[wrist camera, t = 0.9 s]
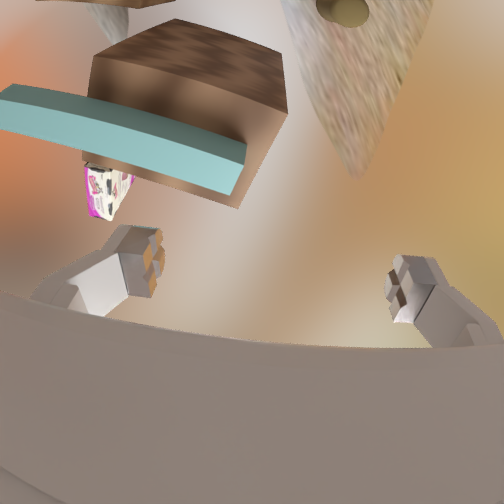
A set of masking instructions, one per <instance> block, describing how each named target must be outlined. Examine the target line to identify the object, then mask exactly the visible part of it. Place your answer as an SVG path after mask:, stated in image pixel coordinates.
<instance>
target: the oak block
mask: <svg viewBox="0 0 504 504" xmlns="http://www.w3.org/2000/svg"><path fill="white" fill-rule="evenodd" d="M36 1H75V2H88V3H99V4H108V5H116V6H123V7H131V8H136V9H140V8H144V7H149V6H153V5H158V4H162V3H167V2H172V1H175V0H36Z"/></svg>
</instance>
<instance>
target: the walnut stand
mask: <svg viewBox="0 0 504 504" xmlns="http://www.w3.org/2000/svg"><path fill="white" fill-rule="evenodd" d="M87 97H89V98H94V99H98V100H102V101H106V102H111V103H115V104H119V105H123V106H126V107H130V108H134V109H138V110H141V111H145V112H149V113H152V114H156V115H159V116H162V117H166V118H169V119H172V120H176V121H179V122H182V123H185V124H189V125H192V126H195V127H198V128H201V129H204V130H207V131H210V132H213V133H216V134H219V135H222V136H224V137H227V138H230V139H233V140H236V141H238V142H241V143H244V144H247V150H246V157H245V163H244V167H243V169H242V171H241V173H240V175H239V177H238V179H237V181H236V183H235V186H234V188H233V190H232V192H231V194H230V196H229V195H226V194H223V193H220V192H217V191H214V190H211V189H208V188H205V187H202V186H199V185H196V184H193V183H190V182H187V181H184V180H181V179H178V178H175V177H171V176H168V175H165V174H162V173H159V172H155V171H152V170H149V169H146V168H142V167H139V166H136V165H133V164H129V163H126V162H122V161H119V160H116V159H112V158H109V157H105V156H102V155H98V154H95V153H91V152H88V151H84V150H82V160H83V161H86V162H90V163H93V164H97V165H100V166H104V167H107V168H110V169H114V170H117V171H120V172H124V173H127V174H130V175H134V176H137V177H140V178H143V179H147V180H150V181H153V182H156V183H160V184H163V185H166V186H169V187H172V188H175V189H179V190H182V191H185V192H188V193H191V194H194V195H197V196H200V197H203V198H206V199H209V200H212V201H215V202H218V203H222V204H225V205H227V206H230V207H233V208H236V209H238V208H239V206H240V204H241V202H242V200H243V198H244V196H245V194H246V192H247V190H248V188H249V187H250V185H251V183H252V181H253V179H254V177H255V175H256V173H257V171H258V169H259V167H260V166H261V164H262V162H263V160H264V158H265V156H266V154H267V152H268V150H269V149H270V147H271V145H272V143H273V141H274V139H275V137H276V136H277V134H278V132H279V130H280V128H281V126H282V124H283V123H284V121H285V119H286V117H287V115H288V109H287V99H286V90H285V80H284V71H283V62H282V54H281V53H279V52H277V51H274V50H272V49H270V48H267V47H264V46H262V45H259V44H257V43H254V42H251V41H248V40H246V39H243V38H240V37H237V36H234V35H231V34H228V33H225V32H222V31H219V30H215V29H212V28H208V27H205V26H202V25H198V24H194V23H190V22H187V21H183V20H179V19H173V20H170V21H168V22H165V23H162V24H160V25H157V26H155V27H152V28H150V29H148V30H145V31H143V32H141V33H139V34H136V35H134V36H132V37H130V38H128V39H125V40H123V41H121V42H119V43H117V44H115V45H113V46H111V47H109V48H107V49H105V50H103V51H102V52H100V53H98V54H96V55H94V57H93V62H92V68H91V74H90V80H89V87H88V95H87Z"/></svg>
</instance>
